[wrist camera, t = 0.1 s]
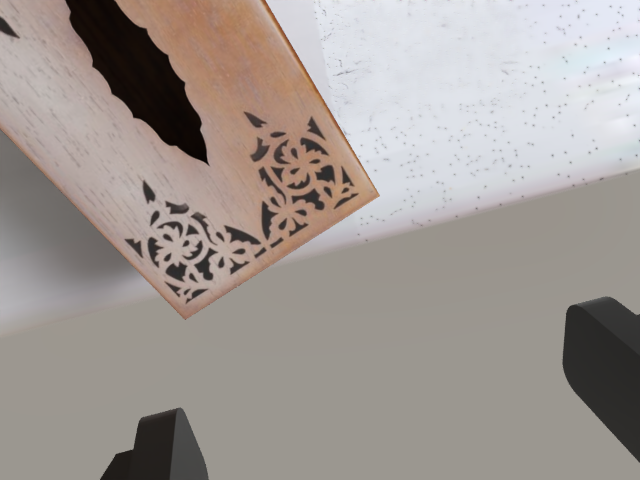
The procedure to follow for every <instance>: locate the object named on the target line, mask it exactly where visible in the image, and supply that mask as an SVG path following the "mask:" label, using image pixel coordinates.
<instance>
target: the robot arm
mask: <svg viewBox="0 0 640 480" xmlns="http://www.w3.org/2000/svg"><path fill="white" fill-rule="evenodd" d="M563 369H564V373H565V376H566V378H567V380H568V382H569V384H570V386H571V387H572V389H573V390H574V392H575V393H576V394H577V395H578V396H579V397H580V398H581V399H582V400H583V401H584V403H585V404H586V405H587V406H588V407H589V408H590V409H591V410H592V411H593V412H594V413H595V415H596V416H597V417H598V418H599V419H600V420H601V421H602V422H603V423H604V424H605V425H606V427H607V428H608V429H609V430H610V431H611V432H612V433H613V434H614V435H615V436H616V437H617V439H618V440H619V441H620V442H621V443H622V444H623V445H624V446H625V447H626V448H627V449H628V450H629V452H630V453H631V454H632V455H633V456H634V457H635V458H636V459H637V460H638V461H639V462H640V314H639V315H635V314H634V313H633V312H631V311H630V310H629V309H627V308H626V307H625V306H623V305H622V304H621V303H619V302H618V301H617V300H615V299H613V298H611V297H601V298H598V299H594V300H590V301H586V302H583V303H579V304H575V305H572V306H570V307H569V308H568V310H567V313H566V323H565V337H564V349H563ZM100 480H209V479H208V473H207V468H206V464H205V461H204V458H203V456H202V453H201V451H200V448H199V446H198V443H197V441H196V439H195V436H194V434H193V431H192V429H191V426H190V424H189V422H188V419H187V417H186V414H185V412H184V411H183V409H182V408H176V409H173V410H169V411H165V412H162V413H158V414H154V415H150V416H146V417H142V418H141V419H140V421H139V424H138V428H137V433H136V438H135V444H134V449H133V450H129V451H125V452H122V453H118V454H116V455H115V457H114V459H113V460H112V462H111V463H110V465H109V466H108V468H107V469H106V471H105V473H104V474H103V476H102V477H101V479H100Z"/></svg>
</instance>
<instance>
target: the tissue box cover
mask: <svg viewBox="0 0 640 480" xmlns="http://www.w3.org/2000/svg"><path fill="white" fill-rule="evenodd" d="M0 129H1V130H2V131H3V132H4V133H5V134H6V135H7V136H8V137H9V138H10V139H11V140H12V141H13V143H14V144H15V145H16V146H17V147H18V148H19V149H20V150H21V151H22V152H23V153H24V154H25V155H26V156H27V157H28V158H29V159H30V160H31V161H32V162H33V163H34V164H35V165H36V166H37V167H38V168H39V169H40V170H41V171H42V173H43V174H44V175H45V176H46V177H47V178H48V179H49V180H50V181H51V182H52V183H53V184H54V185H55V186H56V187H57V188H58V189H59V190H60V191H61V192H62V193H63V194H64V195H65V196H66V197H67V198H68V199H69V200H70V201H71V202H72V204H73V205H74V206H75V207H76V208H77V209H78V210H79V211H80V212H81V213H82V214H83V215H84V216H85V217H86V218H87V219H88V220H89V221H90V222H91V223H92V224H93V225H94V226H95V227H96V228H97V229H98V230H99V231H100V232H101V234H102V235H103V236H104V237H105V238H106V239H107V240H108V241H109V242H110V243H111V244H112V245H113V246H114V247H115V248H116V249H117V250H118V251H119V252H120V253H121V254H122V255H123V256H124V257H125V258H126V259H127V260H128V261H129V262H130V264H131V265H132V266H133V267H134V268H135V269H136V270H137V271H138V272H139V273H140V274H141V275H142V276H143V277H144V278H145V279H146V280H147V281H148V282H149V283H150V284H151V285H152V286H153V287H154V288H155V289H156V290H157V291H158V292H159V293H160V295H161V296H162V297H163V298H164V299H165V300H166V301H167V302H168V303H169V304H170V305H171V306H172V307H173V308H174V309H175V310H176V311H177V312H178V313H179V314H180V315H181V316H182V317H183V318H184V319H185V320H186V319H187V318H189V317H190V316H192V315H193V314H195V313H196V312H198V311H200V310H201V309H203V308H204V307H206V306H207V305H209V304H210V303H212V302H214V301H215V300H217V299H219V298H220V297H222V296H223V295H225V294H226V293H228V292H230V291H231V290H233V289H234V288H236V287H237V286H239V285H241V284H242V283H244V282H245V281H247V280H248V279H250V278H252V277H253V276H255V275H256V274H258V273H259V272H261V271H263V270H264V269H266V268H267V267H269V266H270V265H272V264H274V263H275V262H277V261H278V260H280V259H281V258H283V257H285V256H286V255H288V254H289V253H291V252H292V251H294V250H296V249H297V248H299V247H300V246H302V245H303V244H305V243H307V242H308V241H310V240H311V239H313V238H314V237H316V236H318V235H319V234H321V233H322V232H324V231H325V230H327V229H329V228H330V227H332V226H333V225H335V224H336V223H338V222H340V221H341V220H343V219H344V218H346V217H347V216H349V215H351V214H352V213H354V212H355V211H357V210H358V209H360V208H362V207H363V206H365V205H366V204H368V203H369V202H371V201H373V200H374V199H376V198H377V197H379V196H380V195H379V194H378V192H377V190H376V188H375V187H374V185H373V183H372V182H371V180H370V178H369V177H368V175H367V173H366V171H365V170H364V168H363V166H362V165H361V163H360V161H359V159H358V158H357V156H356V154H355V153H354V151H353V149H352V148H351V146H350V144H349V142H348V141H347V139H346V137H345V136H344V134H343V132H342V130H341V129H340V127H339V125H338V124H337V122H336V120H335V119H334V117H333V115H332V113H331V112H330V110H329V108H328V107H327V105H326V103H325V101H324V100H323V98H322V96H321V95H320V93H319V91H318V90H317V88H316V86H315V84H314V83H313V81H312V79H311V78H310V76H309V74H308V72H307V71H306V69H305V67H304V66H303V64H302V62H301V61H300V59H299V57H298V55H297V54H296V52H295V50H294V49H293V47H292V45H291V43H290V42H289V40H288V38H287V37H286V35H285V33H284V32H283V30H282V28H281V26H280V25H279V23H278V21H277V20H276V18H275V16H274V14H273V13H272V11H271V9H270V8H269V6H268V4H267V3H266V1H265V0H0Z"/></svg>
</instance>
